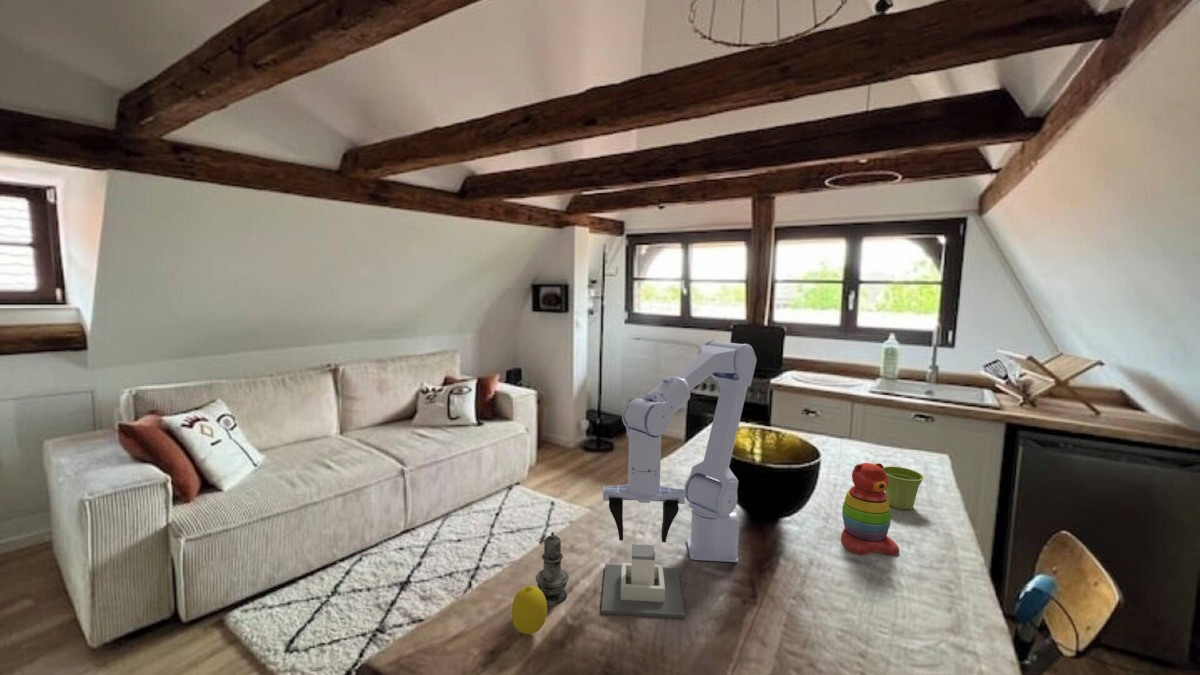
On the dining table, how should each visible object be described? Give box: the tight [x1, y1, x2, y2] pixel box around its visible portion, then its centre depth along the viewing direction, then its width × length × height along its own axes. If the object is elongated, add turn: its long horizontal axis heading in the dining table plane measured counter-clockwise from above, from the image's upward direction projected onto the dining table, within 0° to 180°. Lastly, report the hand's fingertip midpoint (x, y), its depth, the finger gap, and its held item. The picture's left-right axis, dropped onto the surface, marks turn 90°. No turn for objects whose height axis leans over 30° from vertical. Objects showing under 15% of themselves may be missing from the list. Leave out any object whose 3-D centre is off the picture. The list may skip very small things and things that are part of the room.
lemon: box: [511, 585, 548, 636], centre depth 79 cm, size 6×6×8 cm
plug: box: [630, 544, 656, 586], centre depth 91 cm, size 4×4×7 cm
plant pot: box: [883, 465, 925, 510], centre depth 130 cm, size 9×9×9 cm
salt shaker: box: [534, 531, 570, 606], centre depth 89 cm, size 6×6×12 cm
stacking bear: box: [840, 462, 900, 556], centre depth 109 cm, size 11×10×18 cm
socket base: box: [600, 562, 686, 619], centre depth 91 cm, size 14×14×3 cm
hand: (642, 538), depth 92 cm, fingers open, 7 cm apart
